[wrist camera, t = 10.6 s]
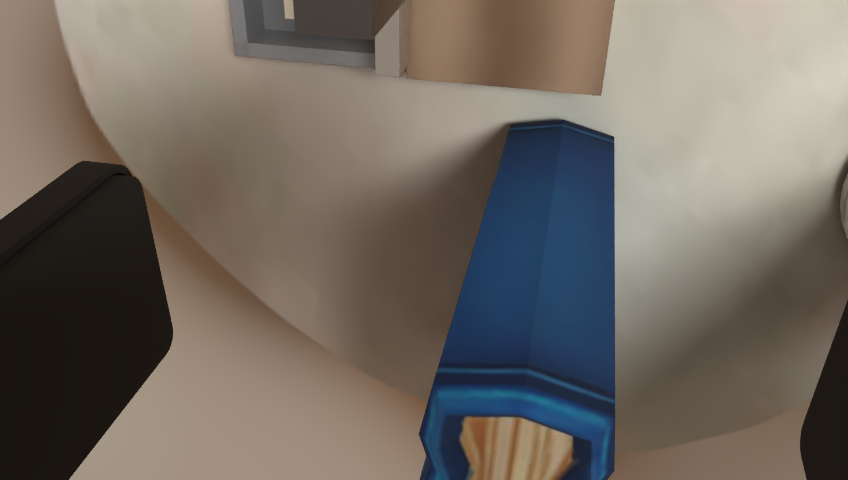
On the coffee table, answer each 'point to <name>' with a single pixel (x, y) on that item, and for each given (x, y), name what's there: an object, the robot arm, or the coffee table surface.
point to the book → (534, 321)
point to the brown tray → (511, 43)
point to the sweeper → (361, 26)
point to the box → (291, 38)
